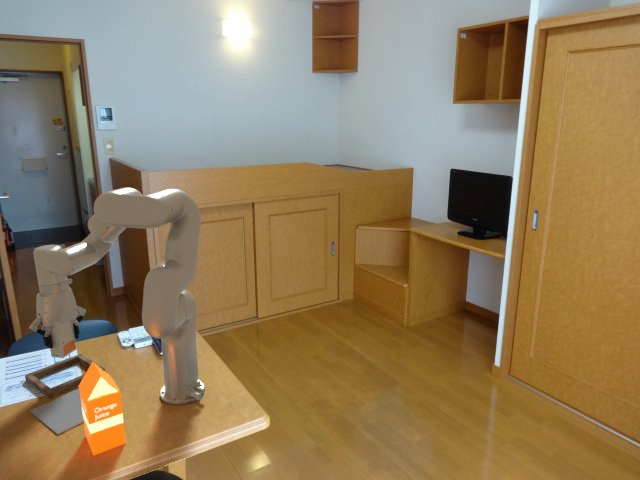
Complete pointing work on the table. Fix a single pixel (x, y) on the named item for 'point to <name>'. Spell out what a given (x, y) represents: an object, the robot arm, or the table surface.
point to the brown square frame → (43, 388)
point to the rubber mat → (61, 413)
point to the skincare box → (62, 338)
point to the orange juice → (101, 410)
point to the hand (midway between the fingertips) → (62, 341)
